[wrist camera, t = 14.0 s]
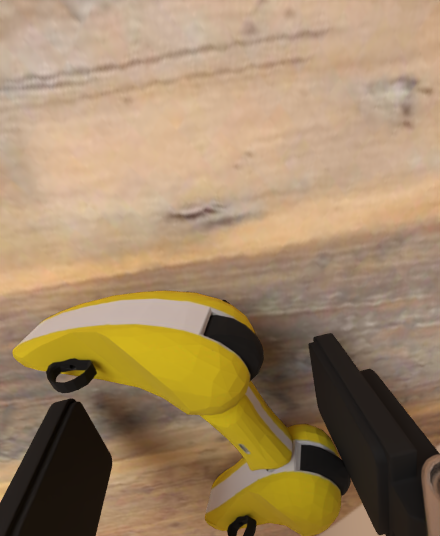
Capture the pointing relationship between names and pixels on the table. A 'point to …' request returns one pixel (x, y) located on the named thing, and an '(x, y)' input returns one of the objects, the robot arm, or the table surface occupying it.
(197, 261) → the table surface
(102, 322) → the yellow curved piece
